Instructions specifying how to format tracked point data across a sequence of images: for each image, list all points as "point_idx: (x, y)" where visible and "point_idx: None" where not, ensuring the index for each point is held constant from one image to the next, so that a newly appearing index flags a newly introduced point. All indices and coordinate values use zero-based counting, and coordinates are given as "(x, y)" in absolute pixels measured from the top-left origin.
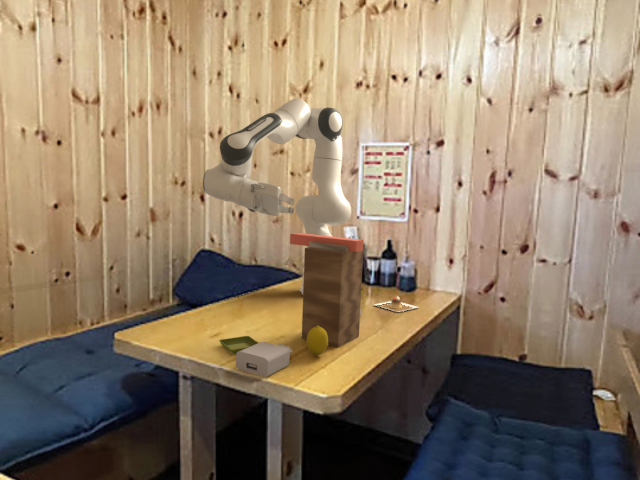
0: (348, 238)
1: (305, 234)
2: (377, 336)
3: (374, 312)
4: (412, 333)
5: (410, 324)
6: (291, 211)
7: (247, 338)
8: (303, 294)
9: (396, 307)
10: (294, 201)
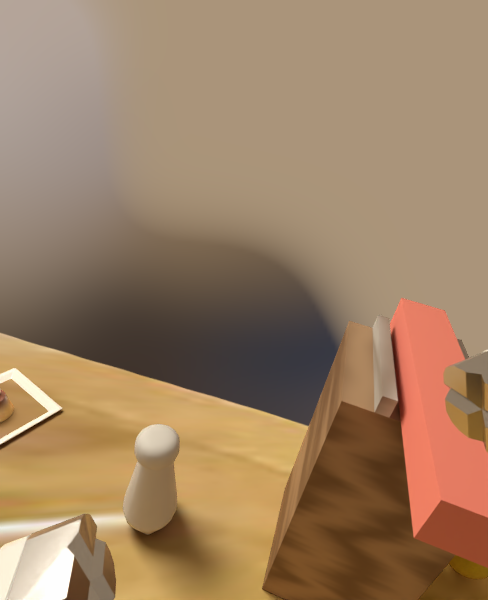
0: (411, 320)
1: (467, 447)
2: (263, 453)
3: (52, 461)
4: (218, 398)
5: (157, 396)
6: (108, 576)
7: None
8: (438, 573)
9: (11, 409)
10: (451, 370)
